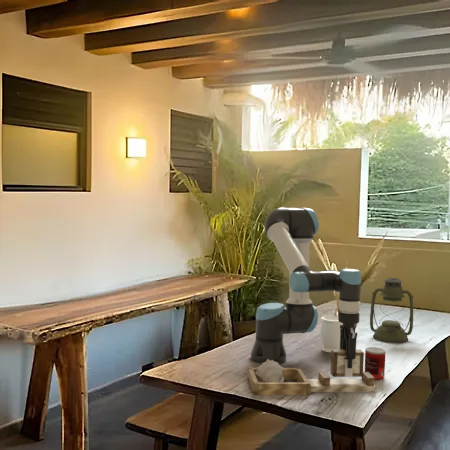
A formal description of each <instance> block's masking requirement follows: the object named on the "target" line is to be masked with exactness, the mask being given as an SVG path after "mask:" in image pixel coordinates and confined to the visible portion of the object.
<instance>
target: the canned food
mask: <svg viewBox="0 0 450 450" xmlns="http://www.w3.org/2000/svg"><path fill="white" fill-rule="evenodd" d="M385 367H386V350H385V349H384V348H382V347H376V346H375V347H373V346H372V347H371V346H370V347H366V348H365V352H364V369H363V372H369V373H370V374H371V375H372V376H373V377H374V378H375V381H377V382H378V381H382V380H384V379H385V371H386V370H385V369H386V368H385Z"/></svg>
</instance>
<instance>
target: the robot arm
mask: <svg viewBox="0 0 450 450" xmlns="http://www.w3.org/2000/svg"><path fill="white" fill-rule="evenodd" d="M319 222H320V221H319V219H318V216H317V214H316V212H315V210H313V209H312V208H308V207H277V208H274V209H273V210H272V211H270V213H268V215H267V216H266V218H265V220H264V227H263V228H264V231H265V234H266V236H267V238H268V239H269V240H270V242H273V244H274V246H275V249H276V250H277V251H278V253H279V255H280V257H281V259H282V260H283V263H284V264H285V266H286V268H287V269H288V273H289V278H288V283H289V285H288V286H289V289H288V293H289V294H288V298H287V300H286V301H285V305H284V303H281V302H269V303H268V302H267V303H264V304H261V305H259V306H258V307H257V309H256V314H255V341H254V344H253V346H252V349H251V351H250V359H251V360H252V361H254V362H256V363H259V364H262V363H264V362H266V360H267V359H269V360H270V361H271V360H273V361H275V362H278V364H282V363H285V362H286V361H287V351H286V349H285V344H284V335H290V334H305V333H311V332H313V331H314V330H315V329H316V327H317V325H318V323H319V322H318V321H319V313H318V309H317V307H316V306H315V305H314V304H313V301H312V300H311V299H310V292H311V293H313V292H314V293H315V292H336V293H338V294H339V295H338V296H339V298H338V310H339V311H338V314H337V315H338V316H337V317H338V321H339V322H341V323H343V325H340V349H346V358H344V359H345V378H350V377H351V378H353V377H352V375H353V359H355V358H356V349H357V338H358V332H356V327H355V325H356V324H359V323H360V310H361V309H360V306H361V305H362V303H361V289H362V276H361V275H362V273H361V271H360V270H359V269H356V268H355V269H354V268H343V269H341V270H340V271H338V270H336V269H328V270H326V271H312V269H311V267H310V252H311V251H310V247H311V246H310V244H311V242H312V241H313V240H314V236H315V235H316V234H317V233H318V231H319V228H320V227H319V226H320V223H319Z"/></svg>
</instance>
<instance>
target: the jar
mask: <svg viewBox="0 0 450 450" xmlns="http://www.w3.org/2000/svg"><path fill="white" fill-rule="evenodd" d="M340 325H343V323H341V322H339V321H338V316H337V315H324V316H322V317H321V325H320V338H321V339H320V340H321V344H322V351H323V352H325V353H329V354H331V349H340Z"/></svg>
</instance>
